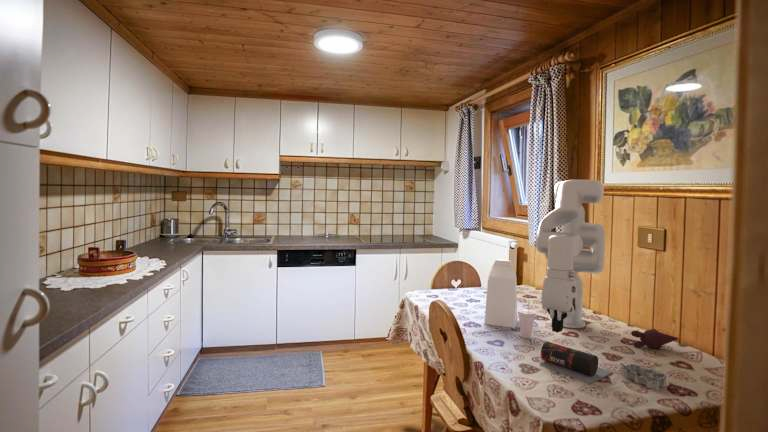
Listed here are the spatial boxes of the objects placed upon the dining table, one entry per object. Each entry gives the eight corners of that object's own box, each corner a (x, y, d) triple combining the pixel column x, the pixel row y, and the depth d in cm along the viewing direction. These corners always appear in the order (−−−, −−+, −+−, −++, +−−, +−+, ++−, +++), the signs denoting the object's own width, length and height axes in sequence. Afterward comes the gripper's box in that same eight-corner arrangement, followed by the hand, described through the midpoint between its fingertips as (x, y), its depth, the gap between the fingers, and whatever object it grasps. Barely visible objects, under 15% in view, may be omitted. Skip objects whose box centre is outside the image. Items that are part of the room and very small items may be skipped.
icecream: (670, 327, 149) (626, 328, 151) (681, 328, 142) (635, 329, 144) (673, 347, 147) (629, 348, 149) (685, 349, 140) (638, 350, 142)
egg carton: (617, 376, 123) (618, 362, 122) (634, 371, 126) (634, 358, 125) (653, 391, 113) (654, 377, 113) (670, 387, 116) (671, 372, 116)
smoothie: (536, 340, 150) (537, 302, 150) (517, 339, 152) (519, 301, 151) (533, 334, 157) (534, 298, 156) (515, 333, 158) (517, 297, 157)
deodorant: (551, 349, 135) (599, 364, 123) (543, 363, 132) (592, 380, 120) (546, 337, 132) (595, 351, 121) (538, 351, 129) (588, 367, 118)
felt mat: (562, 355, 137) (563, 354, 137) (612, 373, 124) (612, 372, 124) (539, 364, 129) (539, 363, 129) (589, 384, 116) (590, 382, 116)
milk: (484, 323, 169) (486, 261, 168) (488, 316, 180) (490, 257, 178) (514, 327, 164) (517, 263, 163) (517, 319, 175) (519, 259, 174)
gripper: (589, 277, 126) (586, 335, 127) (545, 269, 138) (543, 322, 139) (576, 279, 121) (573, 340, 122) (531, 271, 133) (529, 326, 134)
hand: (557, 331), depth 131 cm, fingers closed
